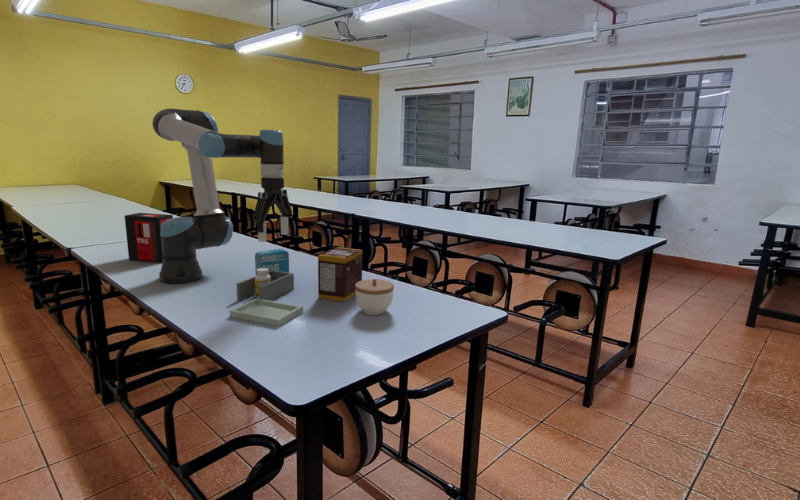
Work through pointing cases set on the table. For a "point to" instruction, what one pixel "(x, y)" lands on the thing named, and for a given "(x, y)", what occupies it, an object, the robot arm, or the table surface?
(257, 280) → the supplement bottle
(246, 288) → the bay
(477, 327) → the table surface
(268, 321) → the tray
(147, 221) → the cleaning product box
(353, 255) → the supplement box
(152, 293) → the table surface
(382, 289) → the lidded bowl
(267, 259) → the data package
